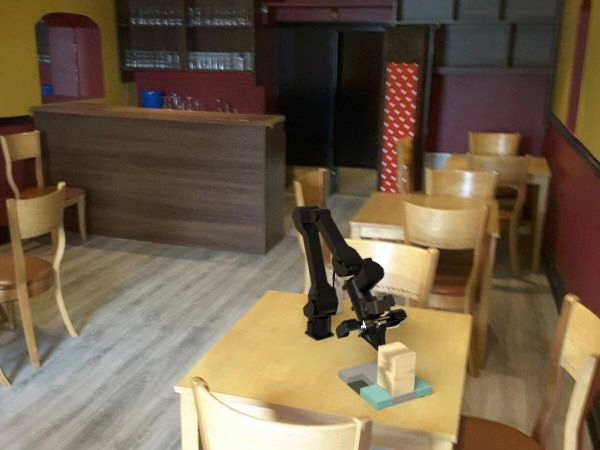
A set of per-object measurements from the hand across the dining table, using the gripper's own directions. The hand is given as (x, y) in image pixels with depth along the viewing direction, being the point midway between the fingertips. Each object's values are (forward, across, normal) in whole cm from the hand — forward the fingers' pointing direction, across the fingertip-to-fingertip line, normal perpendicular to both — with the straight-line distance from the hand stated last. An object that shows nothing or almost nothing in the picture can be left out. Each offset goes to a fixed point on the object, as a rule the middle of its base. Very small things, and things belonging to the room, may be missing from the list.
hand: (383, 354), depth 155 cm
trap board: (+6, 0, +6) cm, 8 cm away
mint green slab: (+10, 0, +2) cm, 10 cm away
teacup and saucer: (-13, +23, +26) cm, 37 cm away
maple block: (+8, 0, +1) cm, 8 cm away
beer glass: (-27, +13, +39) cm, 49 cm away
